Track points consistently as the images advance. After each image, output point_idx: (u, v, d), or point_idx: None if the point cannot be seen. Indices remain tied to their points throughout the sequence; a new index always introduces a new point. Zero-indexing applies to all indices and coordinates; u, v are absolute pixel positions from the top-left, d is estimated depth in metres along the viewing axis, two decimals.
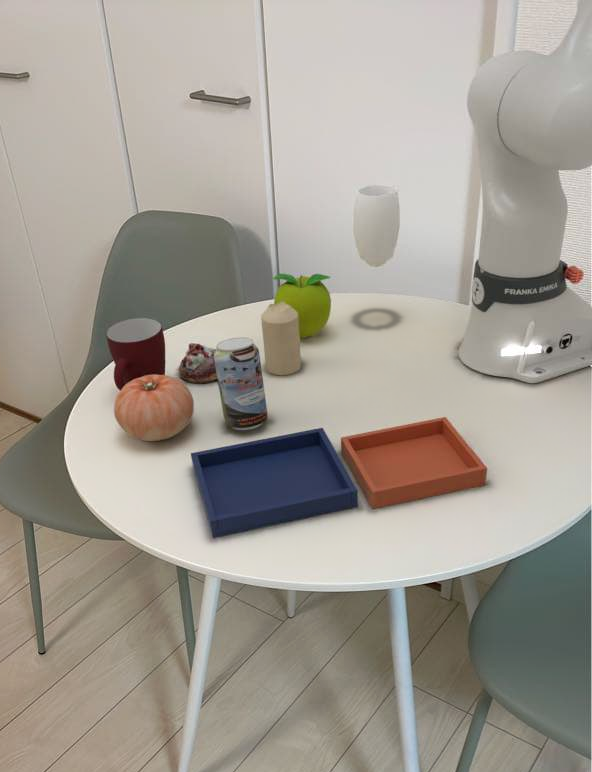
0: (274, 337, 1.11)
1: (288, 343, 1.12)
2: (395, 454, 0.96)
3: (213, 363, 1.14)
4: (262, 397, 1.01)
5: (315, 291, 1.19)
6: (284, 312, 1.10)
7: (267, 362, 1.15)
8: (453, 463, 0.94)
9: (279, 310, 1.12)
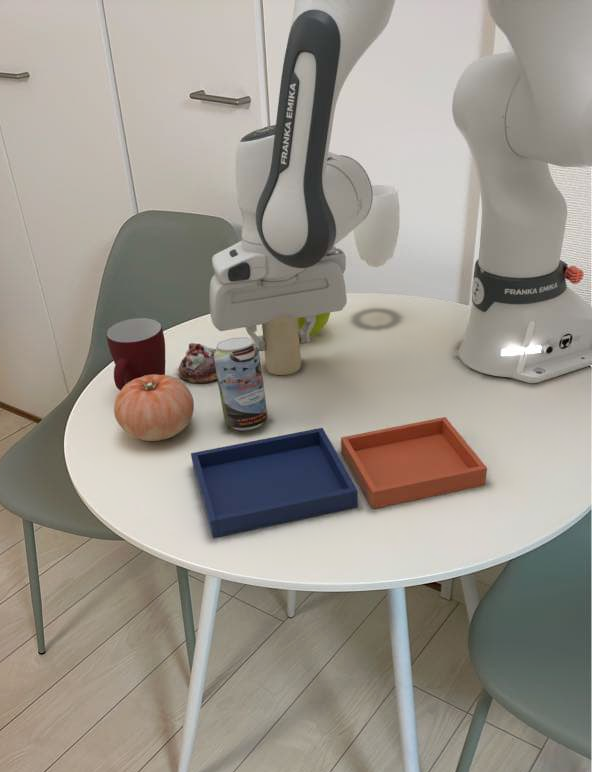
0: (274, 337, 1.11)
1: (288, 343, 1.12)
2: (395, 454, 0.96)
3: (213, 363, 1.14)
4: (262, 397, 1.01)
5: None
6: None
7: (267, 362, 1.15)
8: (453, 463, 0.94)
9: None
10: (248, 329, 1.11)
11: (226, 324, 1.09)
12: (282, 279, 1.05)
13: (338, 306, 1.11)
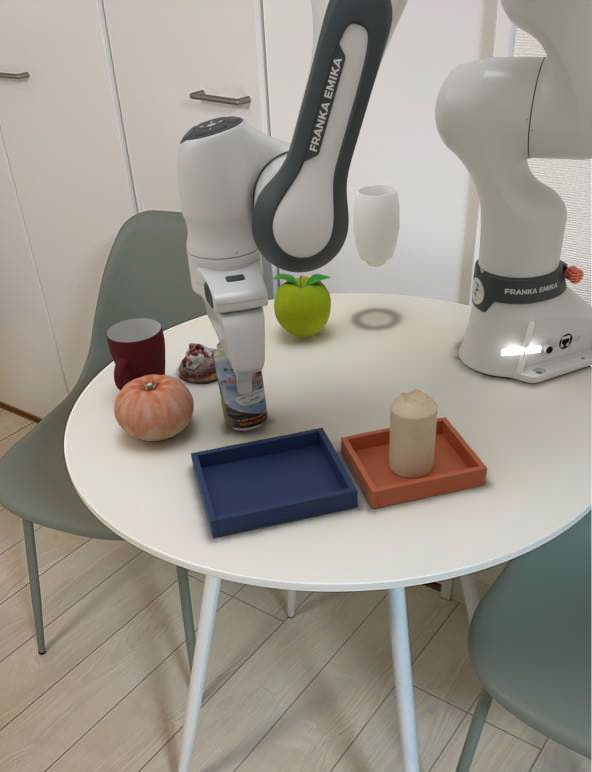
0: (408, 434, 0.88)
1: (425, 441, 0.89)
2: None
3: (213, 363, 1.14)
4: (262, 397, 1.01)
5: (315, 291, 1.19)
6: (423, 404, 0.87)
7: (393, 462, 0.92)
8: (453, 463, 0.94)
9: (414, 400, 0.89)
10: None
11: None
12: None
13: None
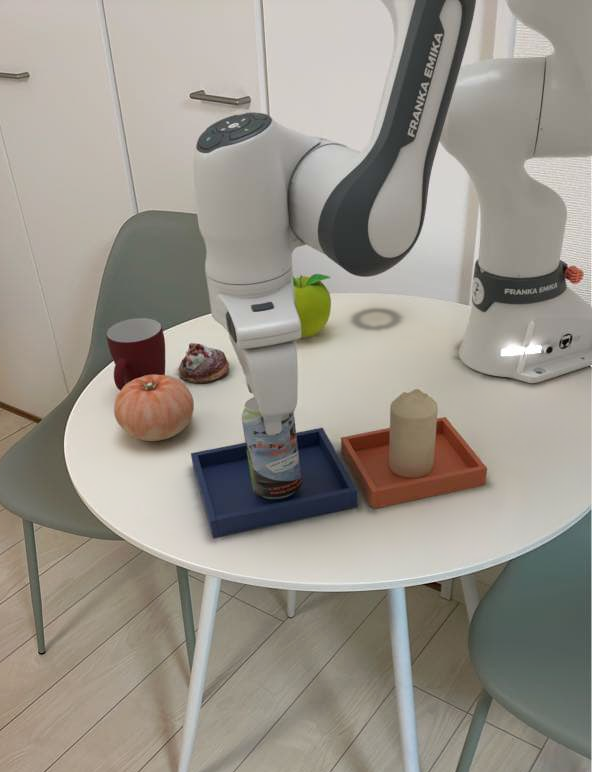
0: (408, 434, 0.88)
1: (425, 441, 0.89)
2: None
3: (213, 363, 1.14)
4: (297, 462, 0.88)
5: (315, 291, 1.19)
6: (423, 404, 0.87)
7: (393, 462, 0.92)
8: (453, 463, 0.94)
9: (414, 400, 0.89)
10: None
11: None
12: None
13: None
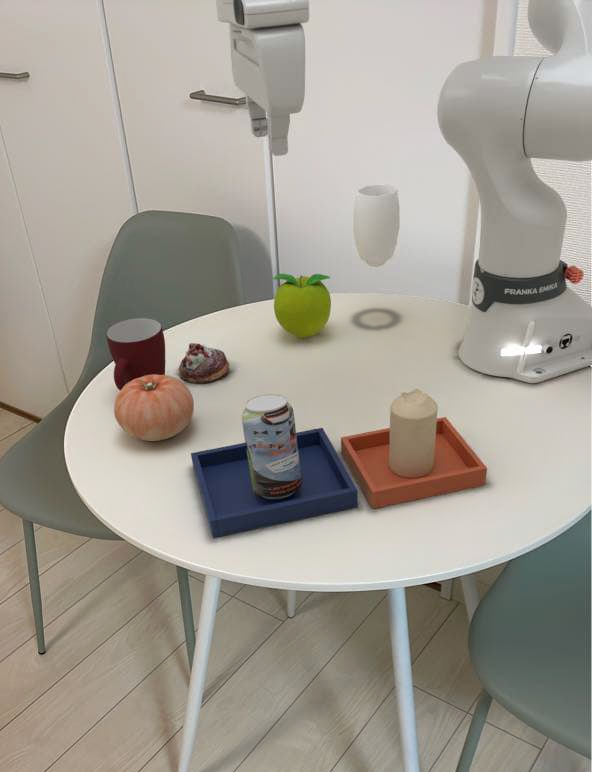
0: (408, 434, 0.88)
1: (425, 441, 0.89)
2: None
3: (213, 363, 1.14)
4: (297, 462, 0.88)
5: (315, 291, 1.19)
6: (423, 404, 0.87)
7: (393, 462, 0.92)
8: (453, 463, 0.94)
9: (414, 400, 0.89)
10: (289, 114, 0.79)
11: None
12: None
13: None
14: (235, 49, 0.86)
